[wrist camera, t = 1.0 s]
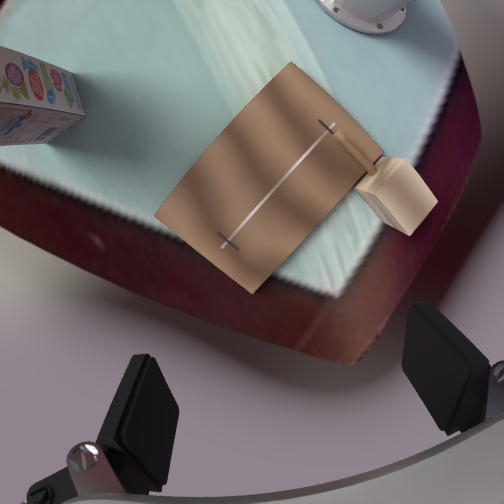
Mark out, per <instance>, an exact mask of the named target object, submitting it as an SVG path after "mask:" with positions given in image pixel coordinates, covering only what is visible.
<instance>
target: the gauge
mask: <svg viewBox="0 0 504 504" xmlns="http://www.w3.org/2000/svg"><path fill="white" fill-rule="evenodd" d="M332 136H333V137H334V138H335V139H336V140H337V141H338V142H339V143H340V144H341V145H342V146H343V147H344V148H345V149H346V150H347V151H348V152H349V153H350V154H351V155H352V156H353V157H354V158H355V159H356V160H357V161H358V162H359V164H360V165H361V166H362V167H363V168H364V169H365V170H366V171H367V172H366V173H365V174H364V175H363V176H362V177H361V179H360V180H359V181H358V182H357V183H356V184H355V185H354V186H353V188H354V190H355V191H356V192H357V193H358V194H359V195H360V196H361V197H362V198H363V199H364V200H365V201H366V202H367V204H368V205H369V206H370V207H371V208H372V209H373V210H374V211H375V213H376V214H377V215H378V216H379V217H380V218H381V219H382V220H383V222H384V223H386V224H388V225H390V226H392V227H394V228H395V229H397V230H399V231H401V232H403V233H405V234H407V235H408V236H410V235H411V234H412V233H413V232H414V230H415V229H416V228H417V227H418V226H419V224H420V223H421V222H422V221H423V220H424V218H425V217H426V216H427V215H428V213H429V212H430V211H431V210H432V208H433V207H434V206H435V205H436V203H437V202H438V201H437V199H436V198H435V197H434V195H433V194H432V192H431V191H430V189H429V188H428V187H427V185H426V184H425V182H424V181H423V180H422V178H421V177H420V176H419V174H418V173H417V172H416V170H415V169H414V168H413V166H412V165H411V164H410V163H409V161H408V160H407V159H406V158H392V157H379V158H378V159H377V160H376V162H375V163H374V164H372V163H371V162H370V161H369V160H368V159H367V158H366V157H365V156H364V154H363V153H362V152H361V151H360V150H359V149H358V148H357V147H356V146H355V145H354V144H353V143H352V142H351V141H350V140H349V139H348V138H347V137H346V136H345V135H344V134H343V132H342V131H341V130H340V129H338V130H336V131H335V132H334V133H333V135H332Z"/></svg>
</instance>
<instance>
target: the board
mask: <svg viewBox="0 0 504 504" xmlns="http://www.w3.org/2000/svg"><path fill="white" fill-rule="evenodd" d="M338 129H340V130H341V131H342V132H343V134H344V135H345V136H346V137H347V138H348V139H349V140H350V141H351V142H352V143H353V144H354V145H355V146H356V147H357V148H358V149H359V150H360V151H361V152H362V153H363V154H364V156H365V157H366V158H367V159H368V160H369V161H370V162H371V163H372V164H373V163H374V162H375V161H376V159H377V158H378V157H379V156H380V155H381V154H382V153H383V152H384V151H383V150H382V149H381V148H380V147H379V146H378V144H377V143H376V142H375V141H374V140H373V139H372V138H371V137H370V136H369V134H368V133H367V132H366V131H365V130H364V129H363V128H362V127H361V126H360V125H359V124H358V123H357V122H356V121H355V120H354V119H353V118H352V117H351V116H350V115H349V114H348V113H347V112H346V111H345V110H344V109H343V108H342V107H341V106H340V105H339V104H338V103H337V102H336V101H335V100H334V99H333V98H332V97H331V96H330V95H329V94H328V93H327V92H326V91H325V90H324V89H322V88H321V87H320V86H319V85H318V84H317V83H316V82H315V81H314V80H312V79H311V78H310V77H309V76H308V75H307V74H306V73H304V72H303V71H302V70H301V69H300V68H299V67H297V66H296V65H295V64H294V63H292V62H290V63H288V64H287V65H286V66H285V67H284V68H283V69H282V70H281V71H280V72H279V73H278V74H277V75H276V76H275V77H274V78H273V79H272V80H271V81H270V82H269V83H268V84H267V85H266V86H265V87H264V88H263V89H262V90H261V91H260V92H259V93H258V94H257V95H256V96H255V97H254V98H253V99H252V100H251V101H250V102H249V103H248V104H247V105H246V106H245V107H244V108H243V110H242V111H241V112H240V113H239V114H238V115H237V116H236V117H235V118H234V119H233V120H232V121H231V123H230V124H229V125H228V126H227V127H226V128H225V129H224V130H223V131H222V132H221V134H220V135H219V136H218V137H217V138H216V139H215V140H214V142H213V143H212V144H211V145H210V146H209V147H208V148H207V150H206V151H205V152H204V153H203V154H202V155H201V157H200V158H199V159H198V160H197V161H196V163H195V164H194V165H193V166H192V167H191V169H190V170H189V171H188V172H187V174H186V175H185V176H184V177H183V179H182V180H181V181H180V182H179V183H178V185H177V186H176V187H175V189H174V190H173V191H172V192H171V194H170V195H169V196H168V198H167V199H166V200H165V201H164V203H163V204H162V205H161V207H160V208H159V209H158V211H157V212H156V213H155V215H154V216H155V217H156V218H157V219H158V220H160V221H161V222H162V223H163V224H164V225H166V226H167V227H168V228H169V229H171V230H172V231H173V232H174V233H175V234H177V235H178V236H179V237H180V238H182V239H183V240H184V241H185V242H187V243H188V244H189V245H190V246H192V247H193V248H194V249H195V250H197V251H198V252H199V253H200V254H202V255H203V256H204V257H205V258H207V259H208V260H209V261H210V262H212V263H213V264H214V265H215V266H217V267H218V268H219V269H221V270H222V271H223V272H224V273H226V274H227V275H228V276H230V277H231V278H232V279H233V280H235V281H236V282H237V283H239V284H240V285H241V286H242V287H244V288H245V289H246V290H248V291H249V292H250V293H251V294H253V293H254V292H255V291H256V290H257V289H258V288H259V286H260V285H261V284H262V283H263V282H264V281H265V280H266V279H267V278H268V277H269V276H270V275H271V274H272V273H273V272H274V271H275V270H276V269H277V268H278V267H279V266H280V264H281V263H282V262H283V261H284V260H285V259H286V258H287V257H288V256H289V255H290V254H291V253H292V252H293V251H294V250H295V249H296V248H297V246H298V245H299V244H300V243H301V242H302V241H303V240H304V239H305V238H306V237H307V236H308V235H309V234H310V232H311V231H312V230H313V229H314V228H315V227H316V226H317V225H318V224H319V223H320V222H321V221H322V219H323V218H324V217H325V216H326V215H327V214H328V213H329V212H330V211H331V210H332V209H333V207H334V206H335V205H336V204H337V203H338V202H339V201H340V200H341V199H342V198H343V196H344V195H345V194H346V193H347V192H348V191H349V190H350V189H351V188H352V186H353V185H354V184H355V183H356V182H357V181H358V180H359V179H360V178H361V176H362V175H363V174H364V173H365V172H366V170H365V169H364V168H363V167H362V166H361V165H360V164H359V162H358V161H357V160H356V159H355V158H354V157H353V156H352V155H351V154H350V153H349V152H348V151H347V150H346V149H345V148H344V147H343V146H342V145H341V144H340V143H339V142H338V141H337V140H336V139H335V138H334V137H333V136H332V135H333V133H334V132H335V131H336V130H338Z"/></svg>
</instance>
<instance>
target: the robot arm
mask: <svg viewBox="0 0 504 504" xmlns="http://www.w3.org/2000/svg"><path fill="white" fill-rule="evenodd" d="M316 1H317V2H318V4H319V5H320V6H321V7H322V8H323V10H324V11H325V12H326V13H328V14H329V15H330V16H331V17H332V18H334V19H335V20H337V21H338V22H340V23H341V24H343V25H345V26H347V27H349V28H351V29H354V30H357V31H359V32H364V33H368V34H385V33H388V32H391V31H393V30H395V29H396V28H398V27H399V26H400V25H401V24H402V23H403V21H404V20H405V17H406V5H407V4H409V3H410V2H411V1H413V0H316ZM402 369H403V371H404V373H405V374H406V376H407V377H408V379H409V381H410V382H411V384H412V385H413V387H414V388H415V390H416V392H417V393H418V395H419V396H420V398H421V400H422V401H423V403H424V404H425V406H426V408H427V409H428V411H429V413H430V414H431V416H432V417H433V419H434V421H435V423H436V424H437V426H438V428H439V429H440V430H441V431H443V430H444V431H445V433H446V434H447V436H449V435H451V434H453V433H455V432H457V431H459V430H460V432H461V434H459V435H457V436H455V437H453V438H451V439H449V440H447V441H445V442H443V443H440V444H439V445H436V446H434V447H432V448H430V449H427V450H425V451H423V452H420V453H418V454H416V455H413V456H411V457H408V458H406V459H403V460H400V461H398V462H395V463H393V464H390V465H387V466H384V467H381V468H378V469H375V470H372V471H369V472H365V473H362V474H358V475H355V476H351V477H348V478H344V479H340V480H336V481H332V482H328V483H323V484H319V485H314V486H309V487H304V488H298V489H292V490H287V491H279V492H272V493H263V494H254V495H243V496H225V497H172V496H153V495H149V491H154V492H162V486H163V485H165V484H166V483H167V479H168V473H169V467H170V462H171V456H172V450H173V444H174V439H175V434H176V427H177V422H178V418H179V407H178V405H177V403H176V401H175V399H174V397H173V395H172V393H171V391H170V389H169V387H168V385H167V383H166V381H165V378H164V376H163V374H162V372H161V370H160V368H159V366H158V364H157V362H156V359H155V358H154V357H151V356H150V355H149V354H138V355H133V356H132V358H131V360H130V362H129V365H128V367H127V369H126V371H125V373H124V376H123V378H122V380H121V382H120V385H119V387H118V389H117V391H116V394H115V396H114V398H113V401H112V403H111V405H110V408H109V410H108V413H107V415H106V418H105V420H104V422H103V425H102V427H101V430H100V432H99V435H98V438H97V440H96V443H94V442H90V441H87V442H82V443H79V444H77V445H75V446H74V447H73V448H72V449H71V450H70V451H69V453H68V455H67V459H66V462H67V467H65V468H64V469H62V470H60V471H58V472H56V473H54V474H52V475H50V476H48V477H46V478H44V479H43V480H41V481H39V482H37V483H35V484H33V485H32V486H31V487H30V489H29V490H28V493H27V503H26V504H504V360H503V361H499V362H497V363H495V364H494V365H493V366H491V365H490V364H489V360H488V359H487V358H486V357H485V356H484V355H483V354H482V353H481V352H480V351H479V350H478V349H477V348H476V347H475V345H474V344H473V343H472V342H470V341H469V339H468V338H467V337H465V335H463V334H462V332H461V331H459V330H458V329H457V328H456V327H455V326H454V325H453V324H452V323H451V322H450V321H449V320H448V319H447V318H446V317H445V316H444V315H443V314H442V313H441V312H440V311H439V310H438V309H436V308H435V307H434V306H433V305H432V304H431V303H430V302H429V301H428V300H423V301H420V302H417V303H413V304H412V306H411V308H410V309H409V310H408V315H407V324H406V334H405V343H404V350H403V357H402ZM21 504H25V503H24V502H22V503H21Z"/></svg>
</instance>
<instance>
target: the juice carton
mask: <svg viewBox="0 0 504 504" xmlns="http://www.w3.org/2000/svg"><path fill="white" fill-rule="evenodd" d="M35 107H36V108H35ZM85 116H86V115H85V112H84V109H83V106H82V103H81V100H80V97H79V94H78V91H77V88H76V84H75V81H74V78H73V74H72V73H71V72H69V71H67V70H64V69H62V68H59V67H57V66H55V65H52V64H49V63H47V62H44V61H42V60H39V59H36V58H34V57H31V56H28V55H25V54H23V53H20V52H17V51H14V50H11V49H8V48H5V47H2V46H0V146H7V145H28V144H47V143H48V142H50V141H51V140H52V139H54V138H55V137H56V136H58V135H59V134H60V133H62V132H63V131H64V130H66V129H67V128H69V127H70V126H71V125H73V124H74V123H76V122H77V121H79V120H80V119H82V118H83V117H85Z"/></svg>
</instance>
